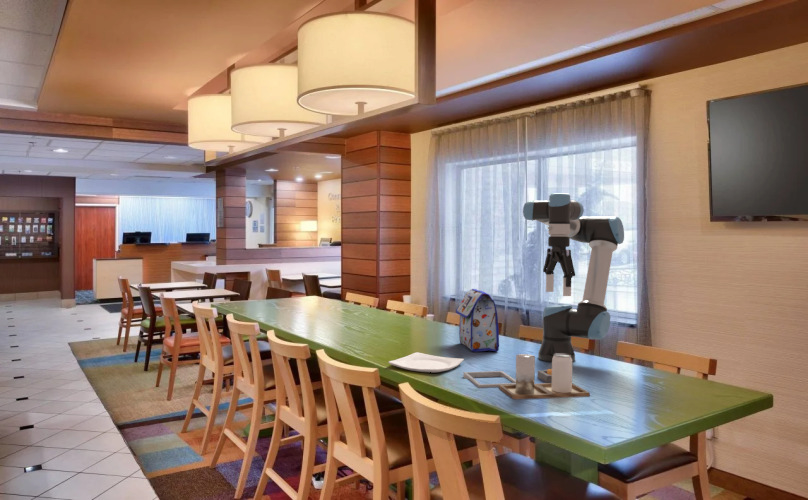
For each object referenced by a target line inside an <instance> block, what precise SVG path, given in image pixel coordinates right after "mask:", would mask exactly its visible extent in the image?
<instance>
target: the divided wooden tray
mask: <svg viewBox="0 0 808 500" xmlns="http://www.w3.org/2000/svg"><path fill="white" fill-rule="evenodd" d="M498 389H500V390H501V391H502V392H503V393H505V394H506V395H508V397H510V398H511V399H513V400H527V399H528V400H529V399H550V398H553V399H554V398H572V397H573V398H575V397H590V396H591V392H590V391H587V390H586V389H584V388H583V387H580V386H579V385H577V384H574V383H573V382H572V391H571V392H570V393H557V392H554V391H553V390H552V383H546V382H541V383H534V394H526V395H521V394H517V393H516V384H513V385H499V387H498Z"/></svg>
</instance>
